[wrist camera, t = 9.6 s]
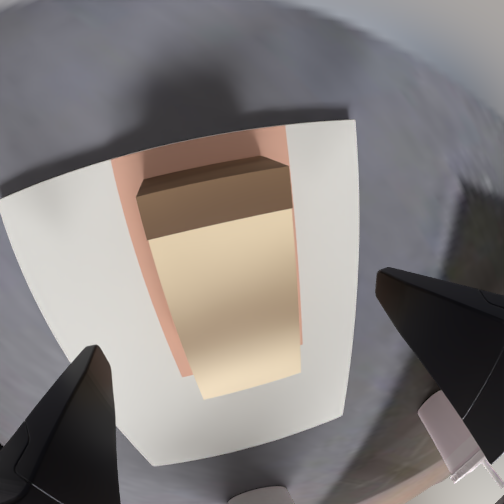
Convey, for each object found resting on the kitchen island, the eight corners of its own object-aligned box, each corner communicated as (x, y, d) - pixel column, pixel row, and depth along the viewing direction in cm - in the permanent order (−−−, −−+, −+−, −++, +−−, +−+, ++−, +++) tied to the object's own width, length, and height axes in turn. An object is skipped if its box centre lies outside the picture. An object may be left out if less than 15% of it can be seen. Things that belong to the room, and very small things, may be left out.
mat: (339, 411, 19) (343, 416, 19) (153, 461, 17) (153, 467, 16) (349, 119, 11) (356, 119, 10) (1, 198, 8) (-5, 201, 8)
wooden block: (143, 179, 9) (135, 197, 7) (261, 155, 10) (288, 166, 8) (194, 357, 13) (203, 400, 11) (280, 334, 14) (302, 372, 11)
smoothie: (460, 371, 24) (536, 453, 12) (441, 405, 27) (503, 481, 15) (417, 398, 23) (495, 498, 11) (400, 430, 26) (463, 518, 13)
